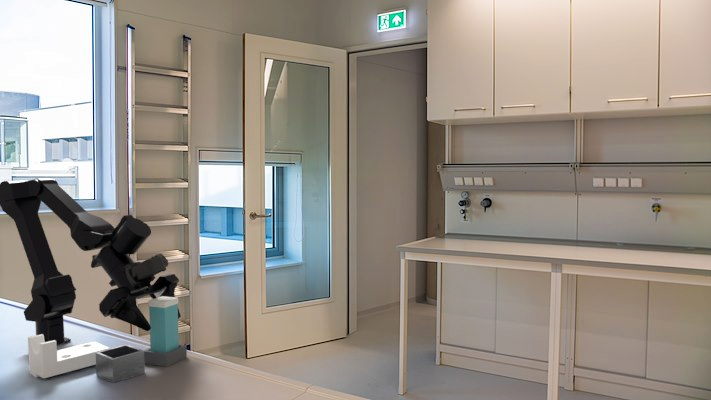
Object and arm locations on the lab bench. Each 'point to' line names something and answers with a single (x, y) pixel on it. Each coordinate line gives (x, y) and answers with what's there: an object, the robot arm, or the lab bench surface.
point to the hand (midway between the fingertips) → (164, 323)
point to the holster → (165, 356)
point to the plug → (163, 324)
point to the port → (120, 363)
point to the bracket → (59, 356)
